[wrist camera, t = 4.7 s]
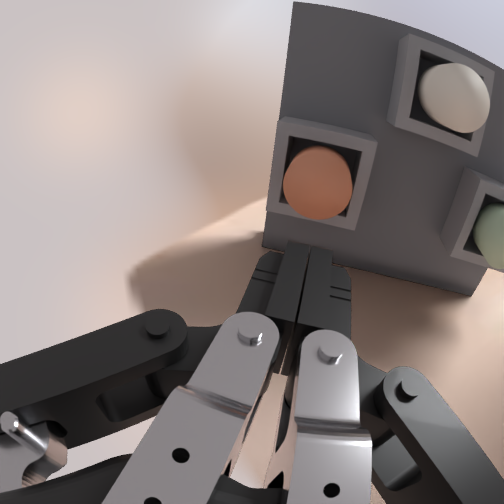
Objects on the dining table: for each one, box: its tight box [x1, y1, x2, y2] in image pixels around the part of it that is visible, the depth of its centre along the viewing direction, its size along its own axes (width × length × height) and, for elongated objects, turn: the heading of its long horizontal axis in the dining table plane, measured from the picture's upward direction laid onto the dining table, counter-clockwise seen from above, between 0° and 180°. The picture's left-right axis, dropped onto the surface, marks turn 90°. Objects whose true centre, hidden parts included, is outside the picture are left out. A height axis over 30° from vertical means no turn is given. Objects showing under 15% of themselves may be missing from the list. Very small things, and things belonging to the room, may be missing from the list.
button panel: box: [262, 2, 504, 296], centre depth 18 cm, size 6×21×20 cm, turn 75°
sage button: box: [472, 203, 504, 269], centre depth 15 cm, size 2×4×4 cm, turn 75°
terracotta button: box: [283, 145, 352, 220], centre depth 17 cm, size 2×4×4 cm, turn 75°
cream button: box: [418, 63, 490, 133], centre depth 12 cm, size 2×4×4 cm, turn 75°
